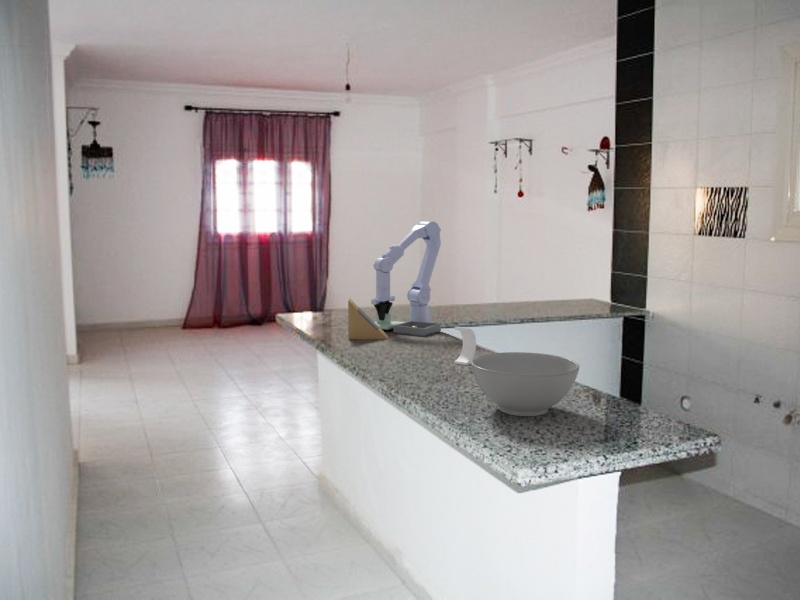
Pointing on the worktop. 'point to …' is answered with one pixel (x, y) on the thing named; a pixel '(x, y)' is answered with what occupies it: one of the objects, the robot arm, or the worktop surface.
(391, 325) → the lid
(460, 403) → the worktop surface
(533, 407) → the decorative bowl
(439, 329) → the tub
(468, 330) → the headphone stand
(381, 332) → the sandwich container
